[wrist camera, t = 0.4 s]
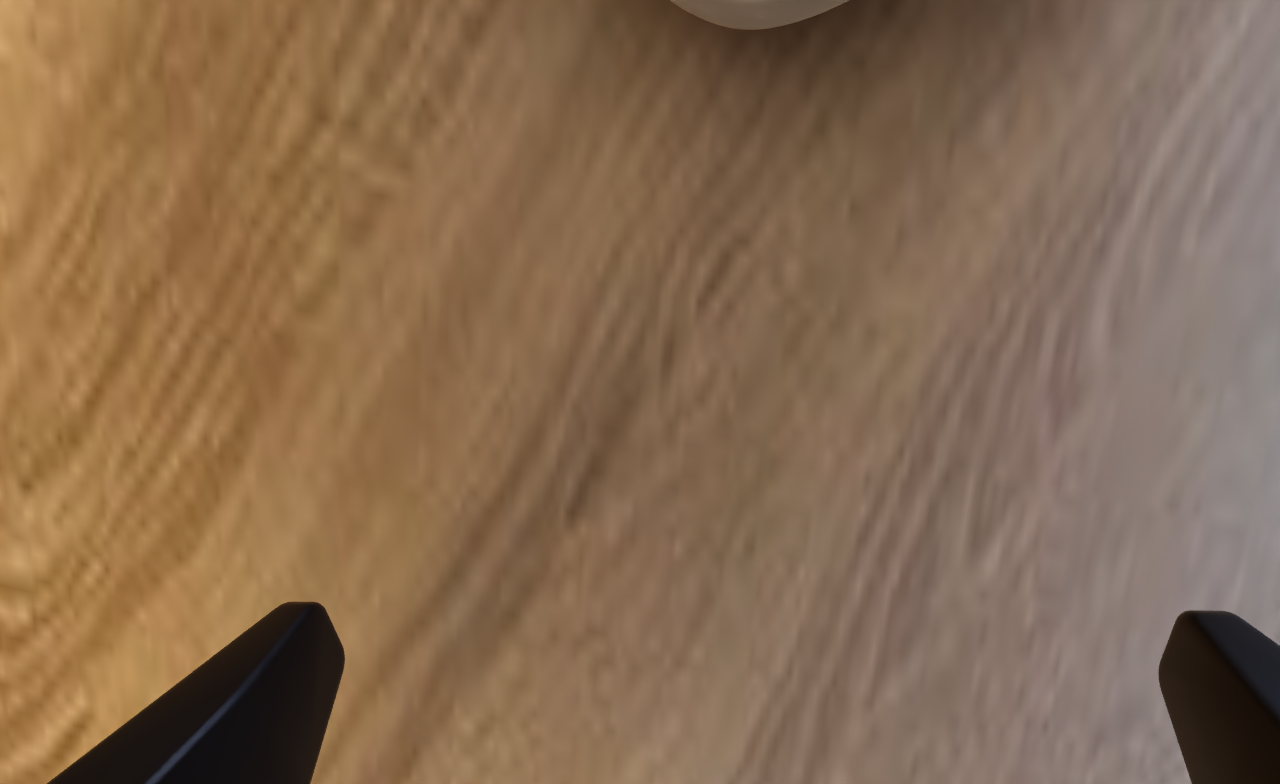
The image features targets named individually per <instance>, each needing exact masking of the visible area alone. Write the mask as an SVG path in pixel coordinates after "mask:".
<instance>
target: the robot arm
mask: <svg viewBox="0 0 1280 784" xmlns="http://www.w3.org/2000/svg"><path fill="white" fill-rule="evenodd" d="M344 663H345V655H344V649H343V646H342V644H341V641H340V639H339V637H338V635H337V633H336V631H335V629H334V626H333V624H332V622H331V620H330V618H329V616H328V613H327V611H326V609H325V608H324V607H323V606H322V605H321V604H319V603H317V602H287V603H284V604H282V605H280V606H278V607H277V608H275V609H274V610H273V611H271V612H270V613H269V614H268V615H266V616H265V617H264V618H262V619H261V620H260V621H258V622H257V623H256V624H254V625H253V626H252V627H251V628H249V629H248V630H247V631H245V632H244V633H243V634H241V635H240V636H239V637H237V638H236V639H235V640H234V641H232V642H231V643H230V644H228V645H227V646H226V647H224V648H223V649H222V650H221V651H219V652H218V653H217V654H215V655H214V656H213V657H211V658H210V659H209V660H207V661H206V662H205V663H204V664H202V665H201V666H200V667H198V668H197V669H196V670H194V671H193V672H192V673H191V674H189V675H188V676H187V677H185V678H184V679H183V680H181V681H180V682H179V683H177V684H176V685H175V686H174V687H172V688H171V689H170V690H168V691H167V692H166V693H164V694H163V695H162V696H161V697H159V698H158V699H157V700H155V701H154V702H153V703H151V704H150V705H149V706H147V707H146V708H145V709H144V710H142V711H141V712H140V713H138V714H137V715H136V716H134V717H133V718H132V719H131V720H129V721H128V722H127V723H125V724H124V725H123V726H121V727H120V728H119V729H117V730H116V731H115V732H114V733H112V734H111V735H110V736H108V737H107V738H106V739H104V740H103V741H102V742H100V743H99V744H98V745H97V746H95V747H94V748H93V749H91V750H90V751H89V752H87V753H86V754H85V755H84V756H82V757H81V758H80V759H78V760H77V761H76V762H74V763H73V764H72V765H70V766H69V767H68V768H67V769H65V770H64V771H63V772H61V773H60V774H59V775H57V776H56V777H55V778H54V779H52V780H51V781H50V782H48V783H47V784H310V783H311V780H312V776H313V773H314V769H315V766H316V763H317V759H318V756H319V752H320V749H321V745H322V742H323V739H324V735H325V732H326V728H327V725H328V721H329V718H330V715H331V711H332V708H333V704H334V701H335V698H336V694H337V691H338V687H339V684H340V680H341V677H342V674H343V669H344ZM1159 682H1160V687H1161V691H1162V694H1163V697H1164V700H1165V703H1166V706H1167V709H1168V712H1169V715H1170V718H1171V721H1172V724H1173V728H1174V731H1175V734H1176V737H1177V740H1178V743H1179V746H1180V749H1181V752H1182V755H1183V758H1184V761H1185V764H1186V767H1187V770H1188V773H1189V776H1190V779H1191V782H1192V784H1280V646H1279V645H1278V644H1277V643H1275V642H1274V641H1272V640H1271V639H1270V638H1268V637H1267V636H1265V635H1264V634H1263V633H1261V632H1260V631H1258V630H1257V629H1256V628H1254V627H1253V626H1252V625H1250V624H1249V623H1247V622H1246V621H1245V620H1243V619H1242V618H1240V617H1238V616H1237V615H1235V614H1233V613H1230V612H1226V611H1185V612H1183V613H1182V614H1181V615H1179V616H1178V618H1177V620H1176V622H1175V624H1174V627H1173V629H1172V632H1171V635H1170V637H1169V640H1168V643H1167V645H1166V648H1165V651H1164V653H1163V656H1162V658H1161V661H1160V665H1159Z"/></svg>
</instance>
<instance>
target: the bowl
mask: <svg viewBox="0 0 1280 784" xmlns="http://www.w3.org/2000/svg"><path fill="white" fill-rule="evenodd" d="M670 1H671V2H673V3H674V4H676V5H677V6H679V7H680V8H682V9H683V10H685V11H687V12H689V13H691V14H693V15H695V16H697V17H699V18H701V19H703V20H706V21H709V22H711V23H714V24H717V25H720V26H724V27H728V28H734V29H747V30H758V29H768V28H774V27H779V26H783V25H787V24H791V23H796V22H798V21H801V20H804V19H807V18H810V17H813V16H816V15H818V14H821V13H824V12H826V11H828V10H830V9H832V8H834V7H836V6H839V5H841V4H843V3H845V2H847V1H849V0H670Z"/></svg>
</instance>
